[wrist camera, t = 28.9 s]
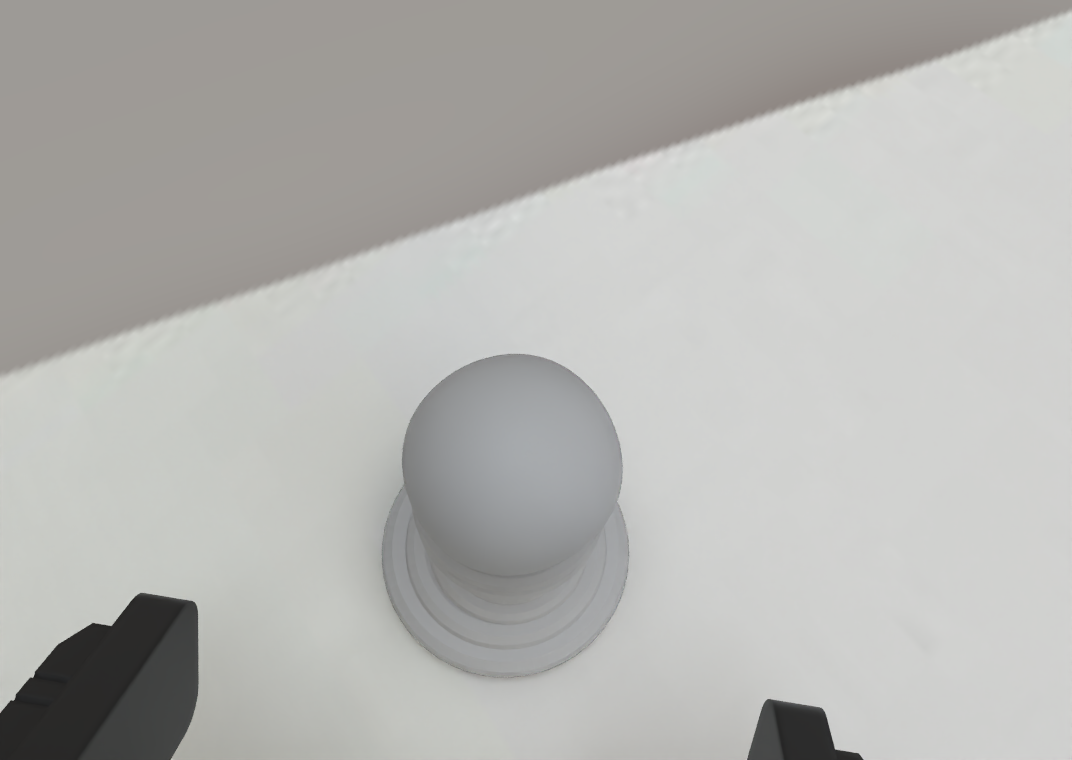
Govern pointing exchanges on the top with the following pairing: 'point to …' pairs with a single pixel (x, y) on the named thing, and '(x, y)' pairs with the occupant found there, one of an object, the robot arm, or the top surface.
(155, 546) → the top surface
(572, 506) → the chess piece
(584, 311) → the top surface
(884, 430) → the top surface
